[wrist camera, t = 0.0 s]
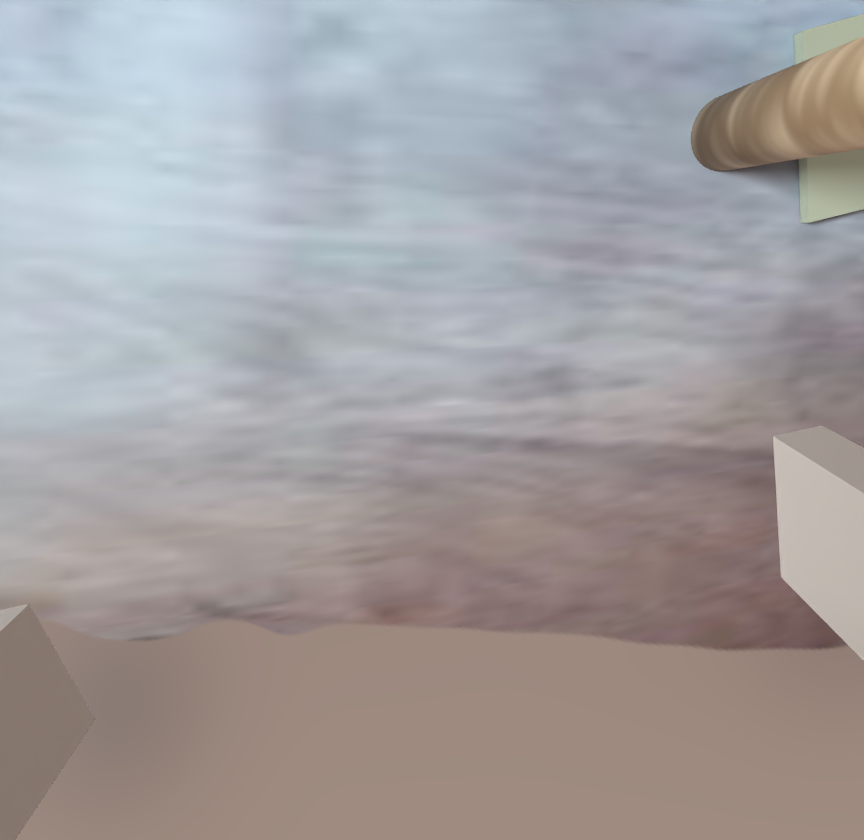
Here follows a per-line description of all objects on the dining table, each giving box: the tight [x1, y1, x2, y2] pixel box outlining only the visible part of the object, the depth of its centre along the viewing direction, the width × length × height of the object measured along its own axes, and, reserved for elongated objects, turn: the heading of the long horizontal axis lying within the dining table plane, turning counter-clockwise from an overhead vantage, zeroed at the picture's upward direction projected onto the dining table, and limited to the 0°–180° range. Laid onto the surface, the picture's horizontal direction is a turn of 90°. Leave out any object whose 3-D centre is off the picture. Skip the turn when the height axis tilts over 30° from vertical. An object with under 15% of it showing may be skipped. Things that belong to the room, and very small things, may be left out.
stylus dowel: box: [691, 36, 864, 171], centre depth 25 cm, size 4×4×18 cm
